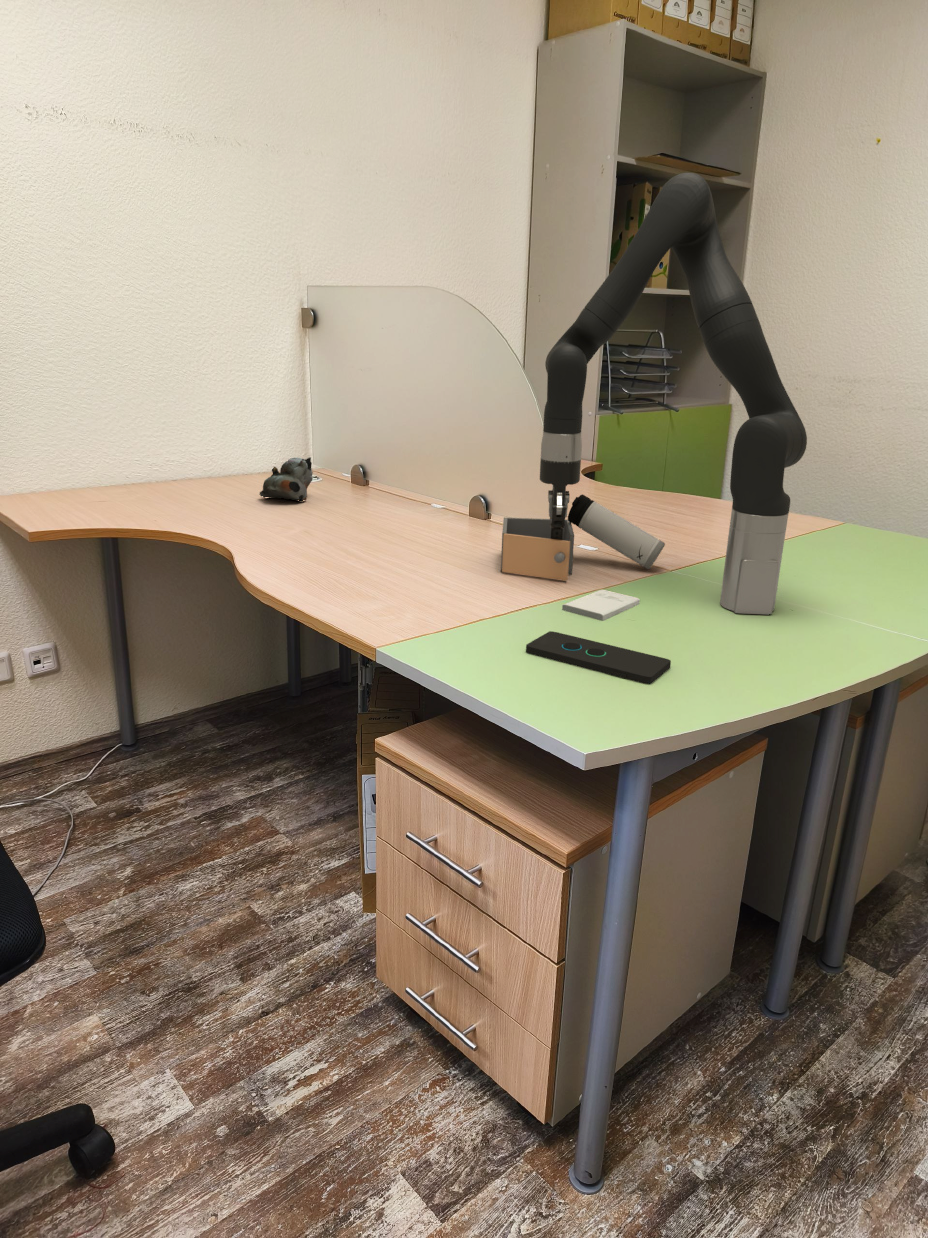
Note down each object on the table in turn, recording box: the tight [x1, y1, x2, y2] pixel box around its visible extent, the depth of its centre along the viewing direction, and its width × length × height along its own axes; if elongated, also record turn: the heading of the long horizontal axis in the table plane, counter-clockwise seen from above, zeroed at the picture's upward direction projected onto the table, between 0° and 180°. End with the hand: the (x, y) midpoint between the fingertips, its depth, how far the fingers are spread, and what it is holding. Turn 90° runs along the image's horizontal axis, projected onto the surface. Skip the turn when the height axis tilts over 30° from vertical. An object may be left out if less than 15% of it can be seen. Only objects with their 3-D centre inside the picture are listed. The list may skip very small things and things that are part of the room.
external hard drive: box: [561, 589, 641, 622], centre depth 146 cm, size 2×8×12 cm
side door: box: [501, 533, 570, 581], centre depth 160 cm, size 2×13×8 cm, turn 66°
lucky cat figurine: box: [258, 456, 314, 501], centre depth 227 cm, size 15×12×14 cm
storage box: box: [500, 517, 575, 576], centre depth 170 cm, size 14×14×8 cm
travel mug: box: [567, 494, 666, 570], centre depth 170 cm, size 6×7×20 cm
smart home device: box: [525, 630, 672, 685], centre depth 123 cm, size 8×2×20 cm
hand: (555, 546), depth 161 cm, fingers closed
